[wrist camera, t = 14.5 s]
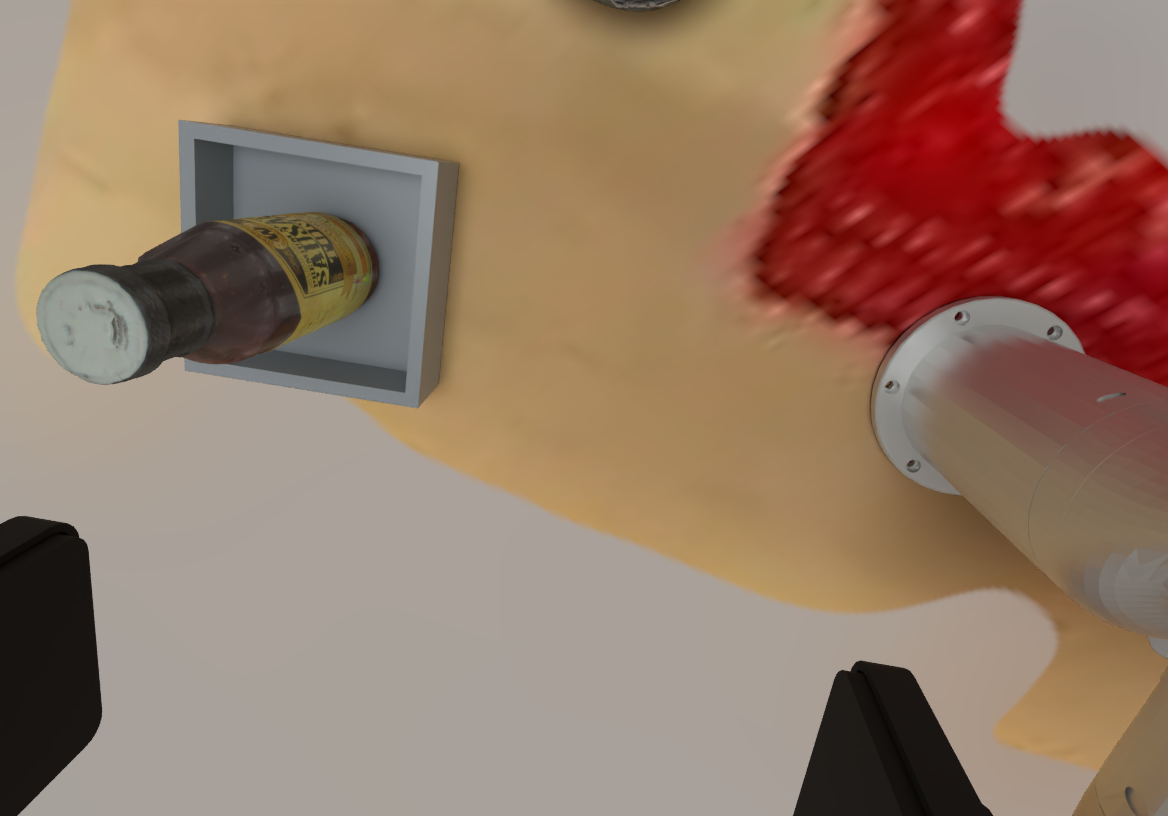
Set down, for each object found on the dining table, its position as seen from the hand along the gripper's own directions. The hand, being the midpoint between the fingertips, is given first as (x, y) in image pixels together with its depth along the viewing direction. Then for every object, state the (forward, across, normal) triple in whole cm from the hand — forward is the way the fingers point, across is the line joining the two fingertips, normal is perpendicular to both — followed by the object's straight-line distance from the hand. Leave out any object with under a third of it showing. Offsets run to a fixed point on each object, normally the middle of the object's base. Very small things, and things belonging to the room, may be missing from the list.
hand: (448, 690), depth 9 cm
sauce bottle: (+35, +17, +1) cm, 39 cm away
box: (+36, +16, +1) cm, 40 cm away
